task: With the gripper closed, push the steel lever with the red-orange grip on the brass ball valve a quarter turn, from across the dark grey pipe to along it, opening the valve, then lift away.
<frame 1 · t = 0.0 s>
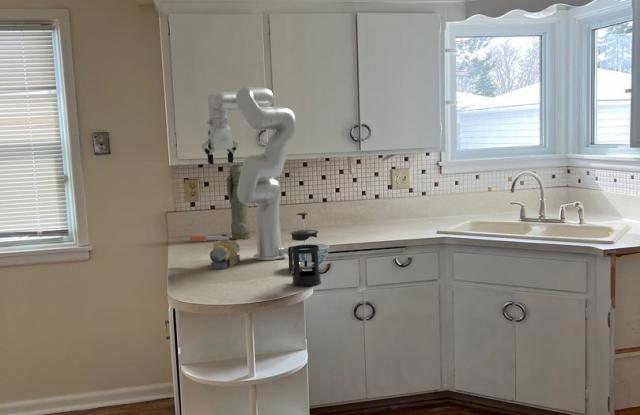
hand: (220, 163, 276), 37 cm above the worktop, tool pointing down, fingers open, 9 cm apart
french press: (305, 284, 207), on the worktop
valve lever: (210, 237, 245), point 11 cm above the worktop, hinge at 0.0°
ball valve: (225, 264, 244), on the worktop
green piece: (241, 238, 309), on the worktop
chinaware: (309, 268, 232), on the worktop
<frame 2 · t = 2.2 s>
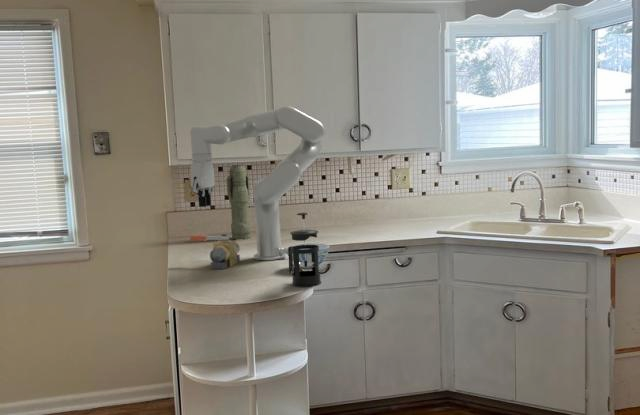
hand: (205, 205, 250), 22 cm above the worktop, tool pointing down, fingers closed
nothing on the worktop moved.
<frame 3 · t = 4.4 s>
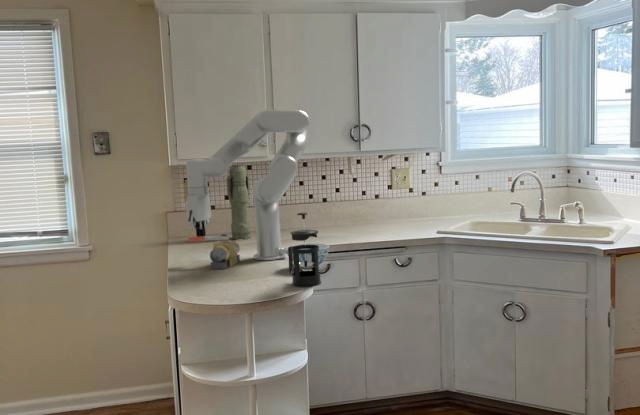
hand: (201, 238, 247), 10 cm above the worktop, tool pointing down, fingers closed
valve lever: (209, 237, 244), point 11 cm above the worktop, hinge at 9.6°, touching gripper
everything else where it was.
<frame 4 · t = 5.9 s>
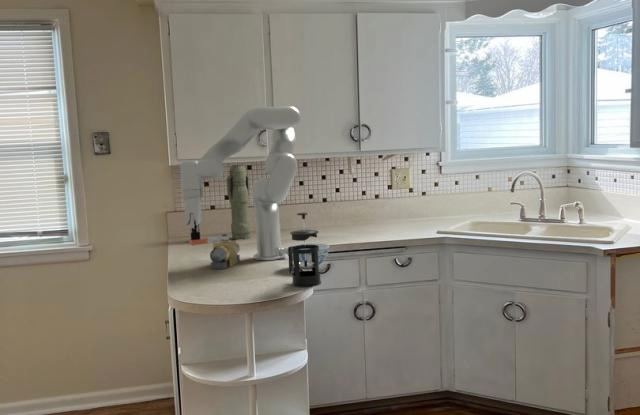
hand: (196, 242, 240), 9 cm above the worktop, tool pointing down, fingers closed
valve lever: (210, 239, 240), point 11 cm above the worktop, hinge at 50.7°, touching gripper
everything else where it was.
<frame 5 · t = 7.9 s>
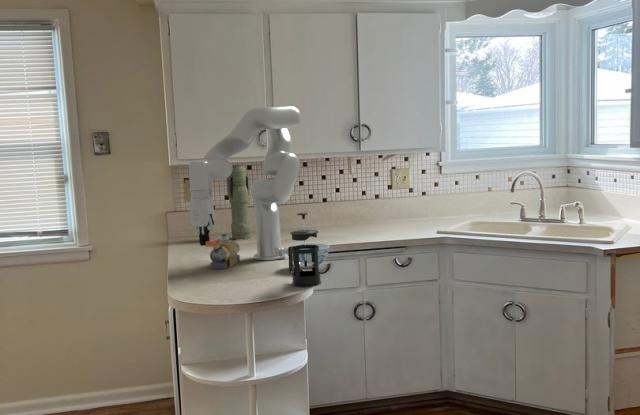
hand: (204, 244, 234), 10 cm above the worktop, tool pointing down, fingers closed
valve lever: (217, 239, 238), point 11 cm above the worktop, hinge at 91.2°, touching gripper
everything else where it was.
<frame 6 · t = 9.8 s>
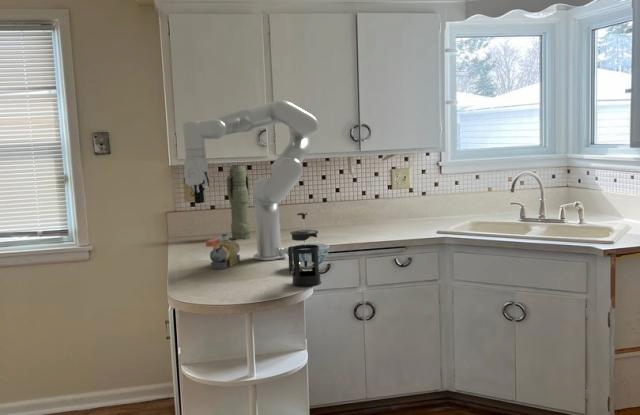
hand: (199, 202, 242), 24 cm above the worktop, tool pointing down, fingers closed
valve lever: (217, 239, 238), point 11 cm above the worktop, hinge at 91.2°
everything else where it was.
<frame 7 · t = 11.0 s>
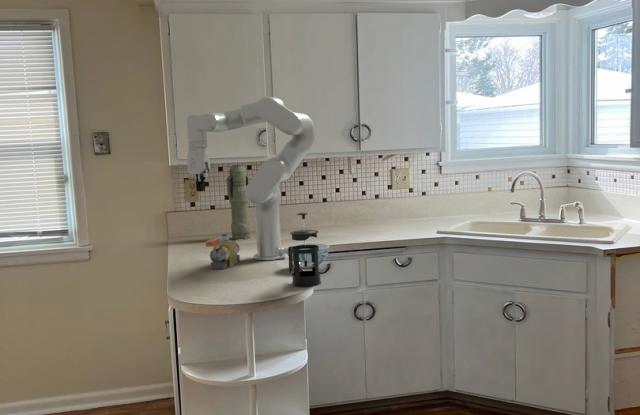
hand: (200, 191, 260), 27 cm above the worktop, tool pointing down, fingers closed
nothing on the worktop moved.
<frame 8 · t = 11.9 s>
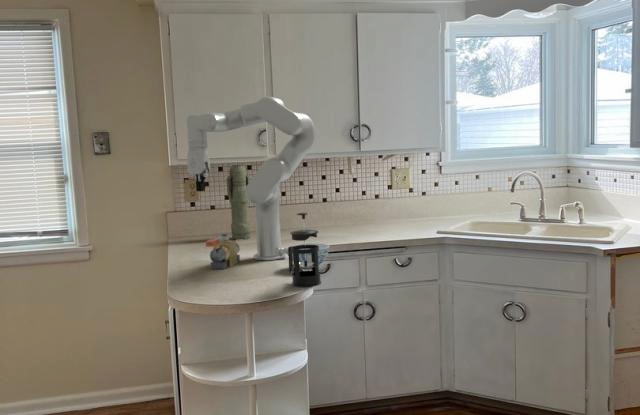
hand: (200, 191, 260), 27 cm above the worktop, tool pointing down, fingers closed
nothing on the worktop moved.
at the end: valve lever at +91° (first picture: +0°) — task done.
